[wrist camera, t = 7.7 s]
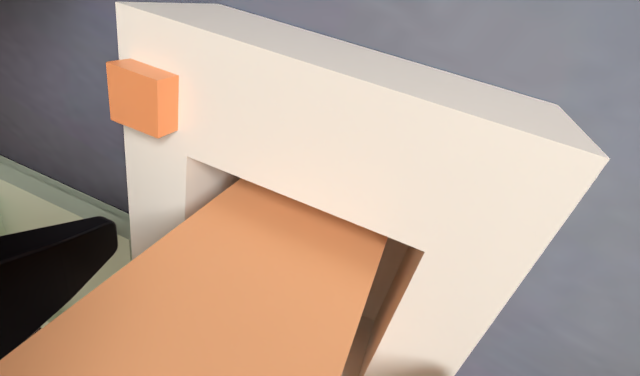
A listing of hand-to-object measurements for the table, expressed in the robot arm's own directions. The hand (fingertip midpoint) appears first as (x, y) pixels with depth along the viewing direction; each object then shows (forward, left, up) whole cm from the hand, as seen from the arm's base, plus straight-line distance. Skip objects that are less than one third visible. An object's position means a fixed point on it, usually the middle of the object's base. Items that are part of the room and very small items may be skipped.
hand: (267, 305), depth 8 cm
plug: (0, 0, -4) cm, 4 cm away
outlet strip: (-5, 0, -4) cm, 7 cm away
